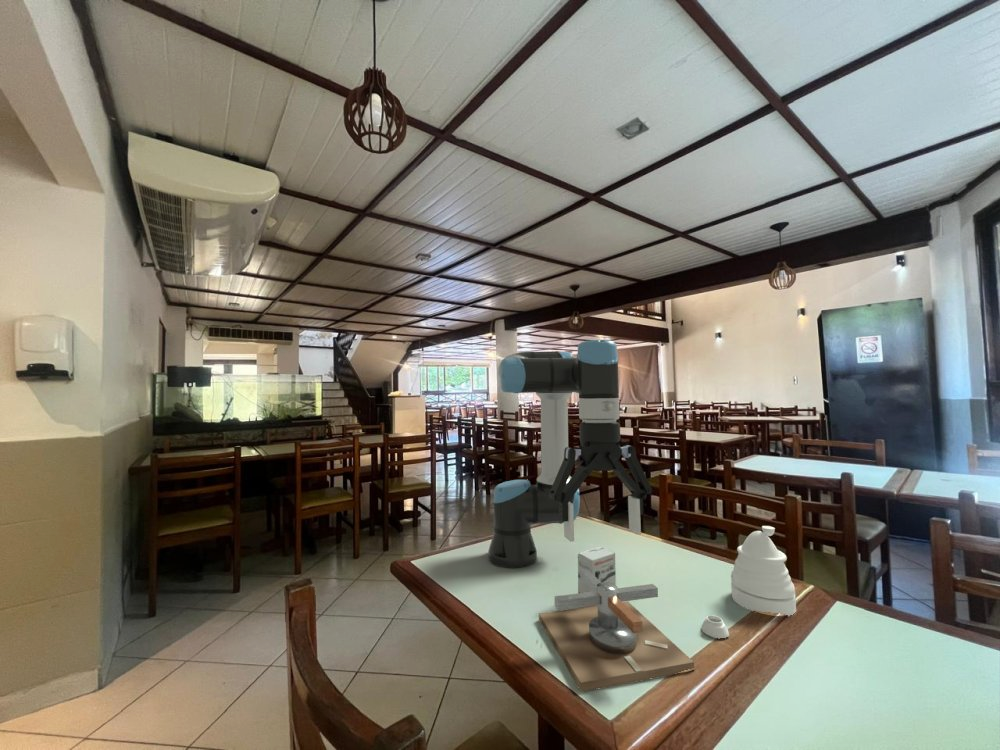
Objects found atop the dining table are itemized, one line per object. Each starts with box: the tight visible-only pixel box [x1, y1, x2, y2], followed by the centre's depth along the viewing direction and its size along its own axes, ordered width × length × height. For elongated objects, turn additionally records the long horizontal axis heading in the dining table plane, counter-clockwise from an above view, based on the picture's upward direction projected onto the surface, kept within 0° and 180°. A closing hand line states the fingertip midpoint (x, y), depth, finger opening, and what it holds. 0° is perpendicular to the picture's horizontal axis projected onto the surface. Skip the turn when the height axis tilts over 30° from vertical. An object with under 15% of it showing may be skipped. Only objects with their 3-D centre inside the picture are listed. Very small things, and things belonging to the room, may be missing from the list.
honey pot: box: [730, 525, 797, 617], centre depth 94 cm, size 13×13×18 cm
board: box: [538, 601, 695, 693], centre depth 78 cm, size 22×22×2 cm
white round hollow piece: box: [700, 614, 730, 640], centre depth 81 cm, size 5×3×5 cm
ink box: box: [577, 545, 617, 607], centre depth 94 cm, size 8×5×12 cm, turn 123°
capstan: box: [553, 569, 659, 653], centre depth 78 cm, size 22×22×9 cm
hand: (602, 535), depth 72 cm, fingers open, 13 cm apart
